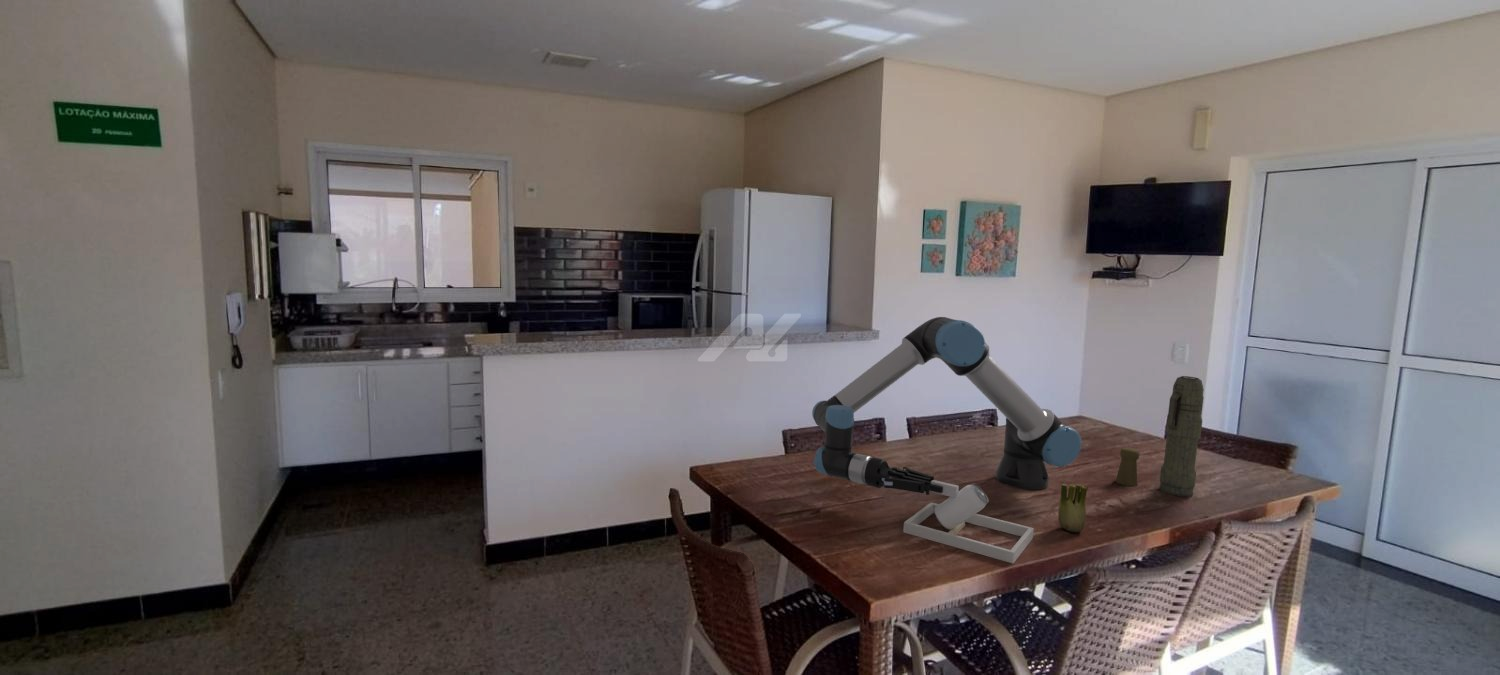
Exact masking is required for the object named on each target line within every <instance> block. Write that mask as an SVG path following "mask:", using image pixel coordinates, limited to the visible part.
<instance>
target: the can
mask: <svg viewBox="0 0 1500 675" xmlns="http://www.w3.org/2000/svg"><path fill="white" fill-rule="evenodd" d="M989 502H990V501H989V498H988V496H987V494H986V493H985V491H984V490H983V489H982V488H981V486H979V485H978V484H977V483H975V482H973V483H972V484H967V485H966V486H964V487H962V488H961V489H960V490H958V493H957V496H956V498H954V497H950V496H948V498H947V499H946V500H944V501H943V502H941V503H938V504H939V505H938V506H937V507H935V510H934V513H935V514H934V515H935V518H936V520H937V521H938V522H939V524H940V525H941V526H942V527H943V528H945V529H946V530H949V531H950V530H951V529H953V528H955V527H957V526H958V525H960V524H961V523H963V522H964V521H966V520H967V519H968V518H970V517H971V516H973V515H974V514H978V513H979V512H980V511H982V510H983V509H984V508H985V507H986V505H987V504H988V503H989Z"/></svg>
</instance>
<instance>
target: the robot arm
mask: <svg viewBox="0 0 1500 675" xmlns="http://www.w3.org/2000/svg"><path fill="white" fill-rule="evenodd" d="M990 352H991V347H990V346H989V345H988V343H987V342H986V341H985V337H984V334H983V333H982V332H981V330H980V329H979V328H978V327H976V326H975V325H974V324H972V323H970V322H969V321H968V322H967V321H965V320H962V319H961V320H960V319H953V318H950V317H945V316H937V317H934V318H931V319H929V320H926V321H925V322H924V323H922V324H920V325H919V326H918V327H916V328H915V329H914V330H912V331H911V332H909V333H908V334H907V335H906V336H904V337H903V338H902V339H901V344H900V345H899V346H897V347H895V348H894V349H893V350H892V351H890V352H889V353H888V354H886V356H884V357H883V358H882V359H880V360H879V361H878V362H876V363H875V364H873V365H872V366H870V368H868V369H867V370H866V371H864V372H863V373H862V374H861V375H859V376H858V377H857V378H855V379H854V380H853V381H851V382H850V383H849V384H848V385H846V386H845V387H844V388H842V389H841V390H839V391H838V392H836V393H835V395H833V396H831V397H830V398H829V399H828V400H820V401H818V402H817V403H815V405H814V406H813V408H812V412H811V414H812V418H813V420H814V423H815V424H816V426H818V427H819V428H821V430H822V431H823V432H824V445H823V446H820V447H818V449H817V450H816V452H815V456H814V459H813V464H814V468H815V470H816V471H817V472H818V473H820V474H823V475H826V476H828V477H830V478H831V477H832V478H837V479H841V480H846V481H849V482H855V483H856V484H857V485H861V484H862V485H867V486H869V487H872V488H876V489H881V488H882V487H883V488H885V489H895V490H900V491H906V492H907V491H908V492H913V493H920V494H925V495H926V496H929V495H930V492H931V493H934V494H938V495H942V496H947V497H954V498H956V496H957V493H958V491H959V486H960V485H959V484H958V485H957V484H953V483H948V482H944V481H940V480H935V476H934V475H928V474H925V473H922V472H919V471H916V470H913V469H911V468H909V467H906V466H903V467H902V469H900V468H899V467H894V466H893V467H890V466H889V465H888V461H887V460H885V459H883V458H879V457H872V456H870V455H865V454H861V453H856V452H853V438H854V437H853V435H854V426H855V424H854V423H855V417H854V416H855V413H856V412H857V411H858V410H860V409H861V408H863V407H864V406H865V405H867V404H868V403H869V402H870V401H872V400H873V399H874V398H876V397H877V396H879V395H880V394H881V393H882V392H884V391H885V390H886V389H887V388H889V387H890V386H892V385H893V384H894V383H895V382H897V381H898V380H899V379H900V378H902V377H904V376H905V375H906V374H907V373H909V372H910V371H911V370H913V369H914V368H915V367H916V366H917V365H922V366H923V365H925V364H926V363H928V362H929V361H931V360H933V359H939V360H941V361H942V362H944V364H945V365H946V366H948V368H949V369H950V370H951V371H952V372H953V373H954V374H955V375H957V376H959V377H961V376H965V377H966V378H967V379H968V381H970V382H971V383H972V384H973V385H974V386H975V387H976V388H977V389H978V390H979V391H980V392H981V393H982V394H983V395H984V396H985V397H986V398H987V399H988V400H989V401H990V402H991V403H992V404H993V405H994V407H995V408H996V409H997V410H998V411H1000V413H1002V414H1003V416H1004V417H1005V430H1004V433H1005V434H1004V442H1003V443H1004V444H1003V445H1004V446H1003V454H1002V457H1001V458H1000V461H999V463H998V466H997V468H996V469H995V479H996V481H998V482H999V483H1001V484H1003V485H1006V486H1008V487H1012V488H1017V489H1021V490H1022V489H1023V490H1043V489H1047V488H1048V487H1049V480H1050V479H1049V475H1048V470H1047V466H1046V464H1048V465H1050V466H1053V467H1057V468H1058V467H1066V466H1068V465H1071V464H1072V463H1073V462H1074V461H1075V460H1076V459H1077V458H1078V456H1080V452H1081V450H1082V437H1081V436H1080V434H1079V432H1077V430H1075V428H1074V427H1071V426H1068V425H1066V424H1065V423H1064V422H1063V421H1061V419H1059V417H1058V416H1057V415H1056V414H1055V413H1054V412H1053V411H1052V410H1050V409H1048V408H1041V407H1040V406H1039V405H1038V404H1037V403H1036V401H1034V399H1033V398H1032V397H1031V396H1030V395H1029V394H1028V393H1027V392H1026V391H1025V390H1024V389H1023V388H1022V387H1021V386H1020V385H1019V384H1018V383H1017V381H1016V380H1014V378H1012V377H1011V376H1010V375H1009V373H1008V372H1006V371H1005V369H1003V367H1002V366H1001V365H1000V364H999V363H998V362H997V361H996V360H995V359H994V358H993V357H992V355H990Z"/></svg>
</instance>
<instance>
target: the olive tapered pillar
mask: <svg viewBox="0 0 1500 675" xmlns="http://www.w3.org/2000/svg"><path fill="white" fill-rule="evenodd" d="M1119 454H1120V463H1119V465H1118V466H1119V467H1118V470H1117V474H1116V479H1115V482H1116V484H1119V485H1122V486H1128V487H1136V486H1138V484H1139V483H1138V465H1137V464H1138V462H1137V461H1138V459H1139V457H1140V452H1139V450H1138V449H1136V448H1132V447H1123V448H1121V449H1120V453H1119Z"/></svg>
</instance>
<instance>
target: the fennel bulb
mask: <svg viewBox="0 0 1500 675" xmlns="http://www.w3.org/2000/svg"><path fill="white" fill-rule="evenodd" d="M1060 487H1061V489H1060V490H1061V491H1060V492H1061V493H1060V501H1059V506H1058V522H1059V523H1058V524H1059V526H1060V527H1061V529H1063V530H1065V531H1068V532H1070V533H1074V534H1075V533H1080V532H1081V531H1083V530H1084V528H1085V527H1086V521H1087V511H1086V497H1087V491H1088V487H1087V486H1085V485H1081V484H1078V483H1076V484H1069V487H1067V484H1066V483H1061V486H1060Z"/></svg>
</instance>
